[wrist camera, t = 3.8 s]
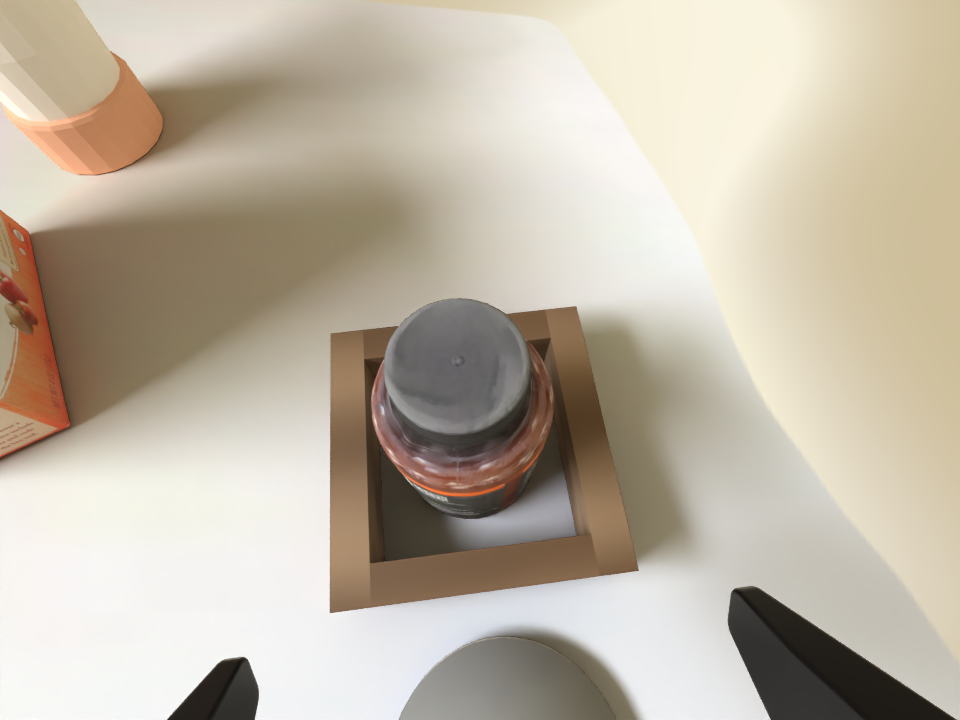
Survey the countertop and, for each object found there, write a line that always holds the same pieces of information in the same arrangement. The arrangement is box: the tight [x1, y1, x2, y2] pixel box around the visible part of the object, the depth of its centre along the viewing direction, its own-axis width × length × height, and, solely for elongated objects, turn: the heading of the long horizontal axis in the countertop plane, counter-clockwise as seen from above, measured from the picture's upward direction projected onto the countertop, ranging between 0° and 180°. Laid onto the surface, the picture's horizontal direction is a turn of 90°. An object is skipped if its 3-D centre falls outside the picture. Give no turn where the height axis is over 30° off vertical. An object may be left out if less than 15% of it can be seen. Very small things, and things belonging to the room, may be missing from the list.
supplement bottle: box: [371, 298, 554, 519], centre depth 18 cm, size 6×6×11 cm
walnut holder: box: [330, 306, 639, 613], centre depth 22 cm, size 12×12×3 cm
